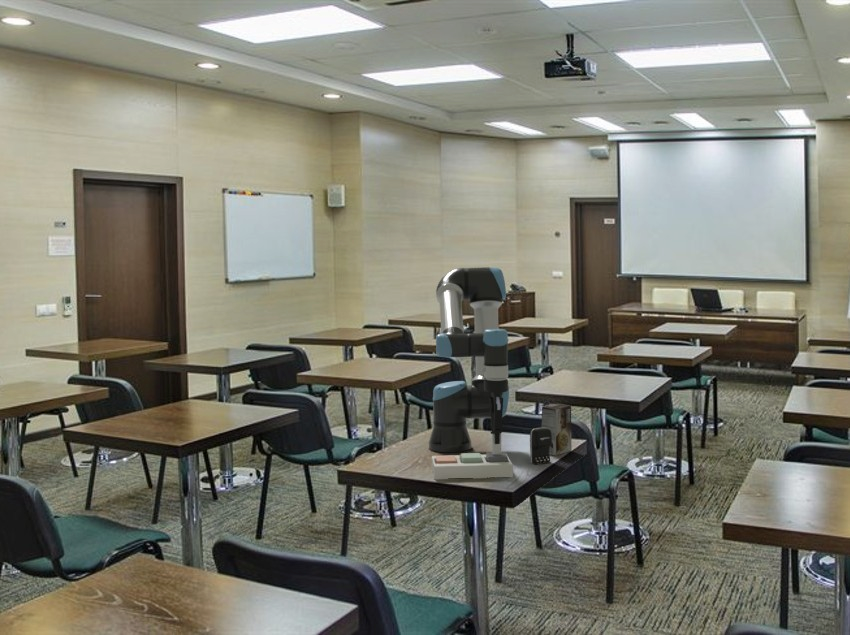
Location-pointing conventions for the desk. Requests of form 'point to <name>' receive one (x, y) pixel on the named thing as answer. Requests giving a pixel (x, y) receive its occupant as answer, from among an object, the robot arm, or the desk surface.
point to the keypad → (471, 469)
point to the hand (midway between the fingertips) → (496, 453)
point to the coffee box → (558, 427)
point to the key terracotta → (445, 459)
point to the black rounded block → (540, 445)
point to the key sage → (471, 458)
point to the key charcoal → (496, 457)
